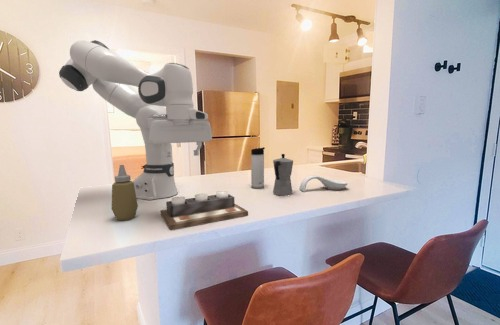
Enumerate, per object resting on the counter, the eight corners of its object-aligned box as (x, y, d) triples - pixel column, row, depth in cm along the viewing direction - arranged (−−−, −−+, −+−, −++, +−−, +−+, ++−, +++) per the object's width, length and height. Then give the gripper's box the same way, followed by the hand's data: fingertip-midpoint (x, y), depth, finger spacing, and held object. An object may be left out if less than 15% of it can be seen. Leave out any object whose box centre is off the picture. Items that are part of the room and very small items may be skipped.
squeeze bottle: (111, 223, 84) (106, 167, 82) (113, 215, 92) (108, 164, 89) (138, 219, 88) (135, 165, 85) (138, 212, 95) (135, 162, 92)
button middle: (197, 206, 90) (196, 197, 90) (193, 202, 94) (193, 194, 94) (209, 204, 92) (209, 195, 92) (205, 201, 96) (205, 193, 96)
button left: (173, 209, 87) (172, 200, 86) (170, 206, 90) (170, 197, 90) (186, 207, 89) (186, 198, 88) (183, 204, 92) (182, 195, 92)
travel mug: (263, 189, 128) (263, 148, 125) (250, 188, 129) (249, 147, 127) (265, 186, 134) (265, 146, 131) (252, 185, 135) (252, 146, 133)
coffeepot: (278, 189, 128) (278, 152, 125) (297, 191, 124) (297, 152, 121) (265, 196, 114) (265, 155, 112) (286, 199, 110) (286, 156, 108)
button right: (219, 202, 94) (218, 194, 94) (214, 199, 98) (214, 191, 98) (230, 200, 96) (230, 192, 96) (225, 198, 100) (225, 190, 100)
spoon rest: (337, 185, 136) (338, 171, 135) (352, 190, 125) (353, 175, 124) (295, 189, 129) (296, 174, 128) (308, 194, 118) (308, 179, 117)
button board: (170, 230, 78) (169, 213, 78) (160, 214, 92) (159, 200, 92) (248, 215, 91) (247, 201, 90) (228, 203, 105) (228, 191, 104)
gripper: (147, 114, 80) (150, 159, 82) (212, 114, 89) (214, 155, 90) (146, 115, 86) (149, 157, 88) (207, 115, 94) (209, 153, 96)
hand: (182, 156), depth 89 cm, fingers open, 8 cm apart
